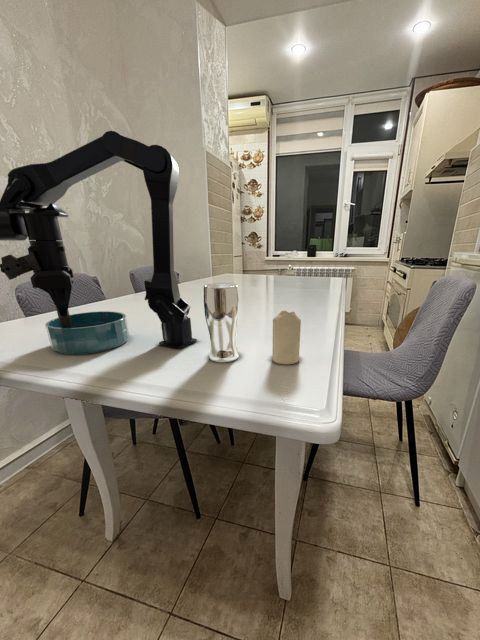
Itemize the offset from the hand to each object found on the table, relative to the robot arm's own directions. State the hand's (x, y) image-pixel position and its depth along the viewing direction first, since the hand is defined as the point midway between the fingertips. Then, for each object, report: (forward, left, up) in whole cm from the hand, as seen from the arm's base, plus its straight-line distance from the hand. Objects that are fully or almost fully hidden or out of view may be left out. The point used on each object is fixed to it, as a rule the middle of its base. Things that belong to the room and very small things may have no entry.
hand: (64, 314), depth 66 cm
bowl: (-3, -3, -8) cm, 9 cm away
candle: (-48, -16, -8) cm, 51 cm away
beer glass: (-36, -11, -8) cm, 38 cm away
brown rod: (0, 0, -7) cm, 7 cm away
